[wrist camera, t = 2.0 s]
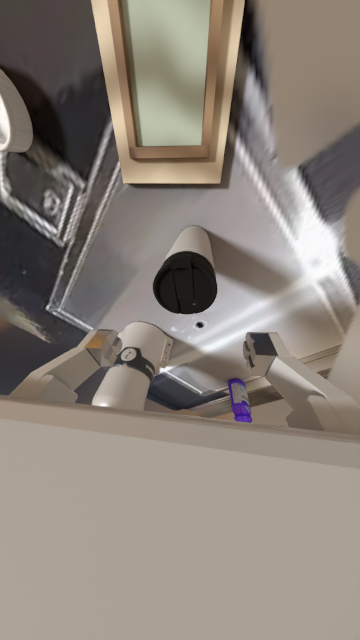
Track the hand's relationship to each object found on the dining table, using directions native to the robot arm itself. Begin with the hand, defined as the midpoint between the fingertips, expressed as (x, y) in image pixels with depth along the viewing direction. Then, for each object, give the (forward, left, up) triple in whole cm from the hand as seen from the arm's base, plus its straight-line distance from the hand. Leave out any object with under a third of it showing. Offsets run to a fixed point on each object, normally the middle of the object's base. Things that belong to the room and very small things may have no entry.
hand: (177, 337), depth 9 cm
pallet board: (+17, +4, -26) cm, 31 cm away
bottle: (-51, -21, -26) cm, 61 cm away
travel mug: (0, 0, -26) cm, 26 cm away
